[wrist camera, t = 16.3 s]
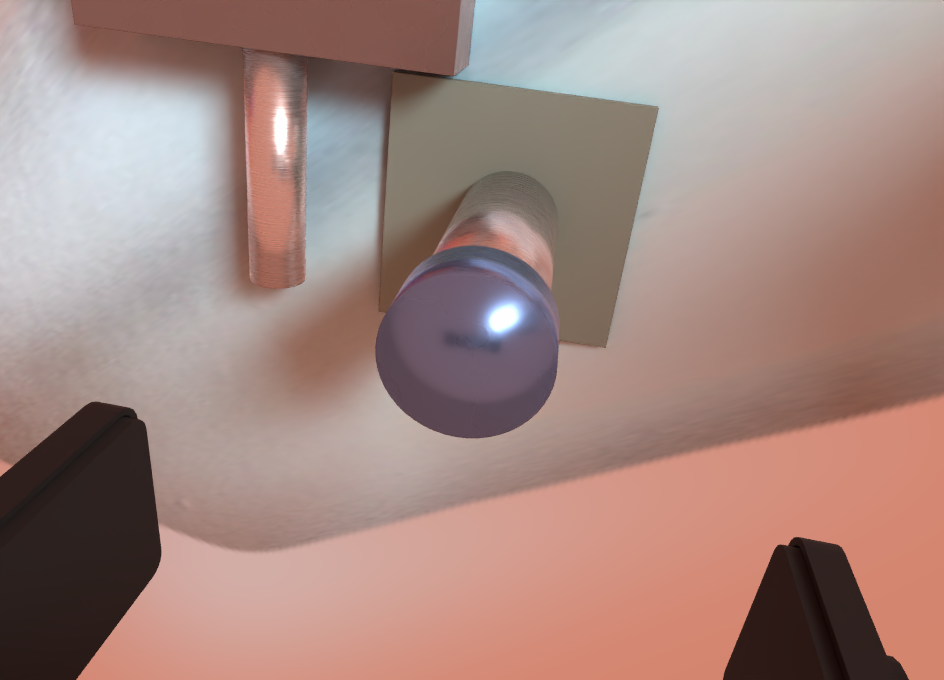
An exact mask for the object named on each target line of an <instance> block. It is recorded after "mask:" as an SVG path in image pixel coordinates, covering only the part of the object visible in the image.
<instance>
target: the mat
mask: <svg viewBox="0 0 944 680" xmlns="http://www.w3.org/2000/svg"><path fill="white" fill-rule="evenodd" d="M658 109H659V108H658V107H656V106H649V105H642V104H634V103H627V102H620V101H612V100H605V99H598V98H590V97H583V96H576V95H569V94H561V93H554V92H547V91H539V90H532V89H525V88H517V87H510V86H503V85H495V84H488V83H481V82H473V81H466V80H459V79H451V78H444V77H437V76H430V75H422V74H415V73H408V72H400V71H394V72H393V76H392V93H391V110H390V127H389V144H388V161H387V178H386V195H385V212H384V229H383V246H382V263H381V281H380V298H379V312H386V313H387V311H388V309H389V307H390V306H391V304H392V302H393V301H394V299H395V297H396V296H397V294H398V292H399V290H400V289H401V287H402V285H403V284H404V282H405V281H406V279H407V277H408V276H409V275H410V274H411V272H412V271H413V270H414V269H415V268H416V267H417V266H418V265H419V264H421V263H422V262H423V261H424V260H426V259H427V258H429V257H431V256H432V255H433V254H434V252H435V250H436V248H437V246H438V244H439V243H440V241H441V239H442V237H443V235H444V233H445V231H446V230H447V228H448V226H449V224H450V222H451V220H452V219H453V217H454V215H455V213H456V211H457V209H458V207H459V206H460V204H461V202H462V200H463V198H464V196H465V195H466V193H467V192H468V190H469V189H470V188H471V187H472V186H473V185H474V184H475V183H476V182H477V181H478V180H480V179H481V178H483V177H485V176H487V175H489V174H492V173H495V172H501V171H515V172H520V173H523V174H526V175H528V176H530V177H532V178H534V179H536V180H537V181H539V182H540V183H541V184H542V185H543V186H544V187H545V188H546V189H547V190H548V192H549V193H550V195H551V196H552V198H553V200H554V202H555V205H556V209H557V214H558V225H557V236H556V246H555V256H554V267H553V277H552V287H551V292H552V294H553V296H554V299H555V302H556V305H557V308H558V313H559V322H560V331H559V340H560V341H567V342H573V343H579V344H585V345H591V346H598V347H604V348H606V344H607V339H608V335H609V330H610V326H611V321H612V317H613V312H614V308H615V303H616V299H617V294H618V290H619V285H620V281H621V276H622V272H623V267H624V263H625V258H626V254H627V249H628V245H629V240H630V236H631V231H632V226H633V222H634V217H635V213H636V208H637V204H638V199H639V195H640V190H641V186H642V181H643V177H644V172H645V168H646V163H647V159H648V154H649V150H650V145H651V141H652V136H653V132H654V127H655V123H656V118H657V114H658Z"/></svg>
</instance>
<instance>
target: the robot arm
mask: <svg viewBox="0 0 944 680" xmlns="http://www.w3.org/2000/svg"><path fill="white" fill-rule="evenodd" d="M160 559H161V544H160V535H159V527H158V519H157V511H156V503H155V495H154V487H153V478H152V470H151V462H150V454H149V446H148V438H147V430H146V426H145V423H144V422H143V421H141V420H138V418H137V414H136V413H135V411H134V410H133V409H131V408H127V407H122V406H117V405H112V404H107V403H101V402H91V403H89V404H87V405H86V406H84V407H83V408H82V409H81V410H80V411H78V412H77V413H76V414H75V415H74V416H72V417H71V418H70V419H69V420H68V421H66V422H65V423H64V424H63V425H62V426H60V427H59V428H58V429H57V430H56V431H54V432H53V433H52V434H51V435H50V436H48V437H47V438H46V439H45V440H44V441H43V442H41V443H40V444H39V445H38V446H37V447H35V448H34V449H33V450H32V451H31V452H29V453H28V454H27V455H26V456H25V457H23V458H22V459H21V460H20V461H19V462H17V463H16V464H15V465H14V466H13V467H11V468H10V469H9V470H8V471H7V472H5V473H4V474H3V475H2V476H1V477H0V680H76V679H77V678H78V676H79V675H80V674H81V672H82V671H83V670H84V668H85V667H86V666H87V664H88V663H89V662H90V660H91V659H92V657H93V656H94V655H95V653H96V652H97V651H98V650H99V648H100V647H101V645H102V644H103V643H104V641H105V640H106V639H107V637H108V636H109V635H110V634H111V632H112V631H113V630H114V628H115V627H116V626H117V624H118V623H119V621H120V620H121V619H122V618H123V616H124V615H125V613H126V612H127V610H128V609H129V608H130V607H131V605H132V604H133V603H134V601H135V600H136V599H137V597H138V596H139V595H140V593H141V592H142V591H143V589H144V588H145V587H146V585H147V584H148V582H149V581H150V580H151V579H152V577H153V576H154V574H155V573H156V571H157V568H158V566H159V563H160ZM723 680H909V679H908V677H907V675H906V673H905V671H904V670H903V668H902V666H901V664H900V663H899V662H898V661H897V660H896V659H895V658H894V657H891V656H887V655H886V653H885V651H884V648H883V646H882V643H881V641H880V638H879V636H878V633H877V631H876V628H875V626H874V623H873V621H872V619H871V616H870V614H869V611H868V609H867V606H866V604H865V602H864V599H863V596H862V594H861V592H860V589H859V587H858V584H857V582H856V579H855V577H854V574H853V572H852V569H851V567H850V564H849V562H848V560H847V557H846V555H845V553H844V551H843V549H842V548H841V547H840V546H839V545H836V544H831V543H826V542H821V541H815V540H810V539H805V538H800V537H795V538H793V539H792V540H791V541H790V543H789V545H788V546H786V545H778V546H777V547H776V548H775V550H774V552H773V555H772V557H771V559H770V562H769V564H768V567H767V569H766V572H765V574H764V577H763V579H762V581H761V584H760V586H759V589H758V591H757V594H756V596H755V599H754V601H753V603H752V606H751V608H750V611H749V613H748V616H747V618H746V621H745V623H744V626H743V628H742V630H741V633H740V635H739V638H738V640H737V642H736V645H735V648H734V650H733V652H732V655H731V657H730V660H729V662H728V665H727V667H726V670H725V673H724V677H723Z"/></svg>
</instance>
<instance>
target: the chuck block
mask: <svg viewBox="0 0 944 680" xmlns="http://www.w3.org/2000/svg"><path fill="white" fill-rule="evenodd" d="M71 1H72V9H73V17H74V24H76V25H83V26H90V27H98V28H105V29H112V30H120V31H127V32H134V33H142V34H149V35H156V36H164V37H171V38H178V39H186V40H193V41H200V42H208V43H215V44H222V45H230V46H237V47H243V75H244V109H245V142H246V176H247V209H248V243H249V276H250V280H251V281H252V282H253V283H254V284H256V285H259V286H262V287H267V288H290V287H294V286H297V285H300V284H302V283H303V282H304V281H305V276H306V150H307V56H310V57H317V58H325V59H332V60H339V61H347V62H354V63H361V64H369V65H376V66H383V67H391V68H398V69H405V70H413V71H420V72H427V73H435V74H442V75H449V76H455V75H456V74H457V73H459V72H460V71H461V70H463V69H464V68H465V67H467V66H468V65H469V55H470V46H471V36H472V26H473V17H474V7H475V0H71Z"/></svg>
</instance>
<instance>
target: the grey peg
mask: <svg viewBox="0 0 944 680" xmlns="http://www.w3.org/2000/svg"><path fill="white" fill-rule="evenodd" d="M557 225H558V214H557V209H556V205H555V202H554V200H553V198H552V196H551V195H550V193H549V192H548V190H547V189H546V188H545V187H544V186H543V185H542V184H541V183H540V182H539V181H537V180H536V179H534V178H532V177H530V176H528V175H526V174H523V173H520V172H515V171H501V172H495V173H492V174H489V175H487V176H485V177H483V178H481V179H480V180H478V181H477V182H476V183H475V184H474V185H473V186H472V187H471V188H470V189H469V190H468V192H467V193H466V195H465V196H464V198H463V200H462V202H461V204H460V206H459V207H458V209H457V211H456V213H455V215H454V217H453V219H452V220H451V222H450V224H449V226H448V228H447V230H446V231H445V233H444V235H443V237H442V239H441V241H440V243H439V244H438V246H437V248H436V250H435V252H434V254H433V255H432V256H431V257H429V258H427V259H426V260H424V261H423V262H422V263H421V264H419V265H418V266H417V267H416V268H415V269H414V270H413V271H412V272H411V274H410V275H409V276H408V277H407V279H406V281H405V282H404V284H403V285H402V287H401V289H400V290H399V292H398V294H397V296H396V297H395V299H394V301H393V302H392V304H391V306H390V307H389V309H388V311H387V313H386V314H385V316H384V318H383V320H382V322H381V325H380V327H379V331H378V334H377V339H376V362H377V368H378V371H379V375H380V378H381V380H382V382H383V384H384V387H385V388H386V390H387V392H388V393H389V395H390V397H391V398H392V399H393V400H394V402H395V403H396V404H397V405H398V406H399V407H400V408H401V409H402V410H403V411H404V412H405V413H406V414H407V415H409V416H410V417H411V418H412V419H414V420H415V421H417V422H418V423H420V424H422V425H423V426H425V427H427V428H429V429H432V430H434V431H437V432H439V433H442V434H445V435H450V436H454V437H461V438H485V437H492V436H496V435H500V434H503V433H506V432H509V431H511V430H513V429H515V428H517V427H519V426H521V425H522V424H524V423H525V422H527V421H528V420H530V419H531V418H532V417H533V416H534V415H535V414H536V413H537V412H538V411H539V410H540V409H541V407H542V406H543V405H544V404H545V402H546V400H547V399H548V397H549V395H550V393H551V391H552V389H553V386H554V382H555V379H556V373H557V364H558V347H559V331H560V322H559V313H558V308H557V305H556V302H555V299H554V296H553V294H552V292H551V287H552V277H553V267H554V256H555V246H556V236H557Z"/></svg>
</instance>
